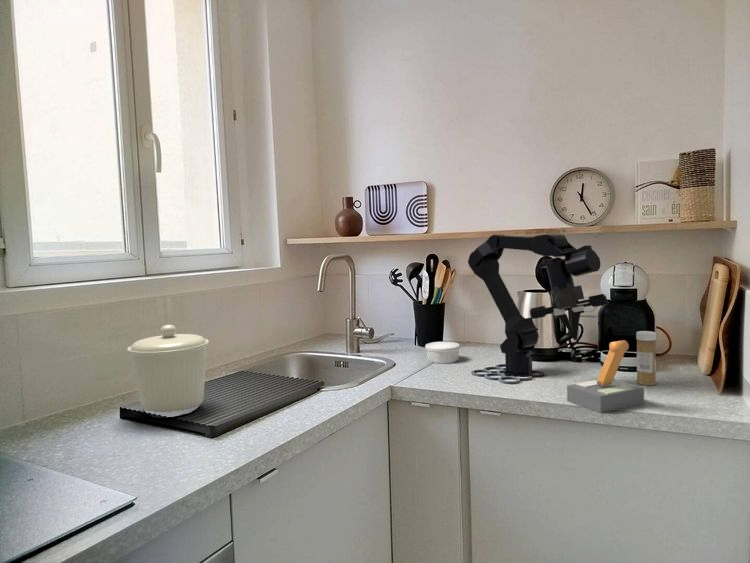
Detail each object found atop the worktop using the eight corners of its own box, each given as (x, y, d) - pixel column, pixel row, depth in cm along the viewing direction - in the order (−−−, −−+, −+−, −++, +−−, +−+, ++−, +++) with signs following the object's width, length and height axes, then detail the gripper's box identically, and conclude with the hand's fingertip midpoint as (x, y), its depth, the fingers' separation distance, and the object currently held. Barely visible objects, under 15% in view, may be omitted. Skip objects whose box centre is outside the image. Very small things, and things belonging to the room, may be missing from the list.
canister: (137, 431, 112) (131, 334, 110) (127, 410, 127) (121, 324, 126) (221, 414, 122) (216, 324, 120) (202, 396, 137) (197, 317, 135)
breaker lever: (594, 382, 120) (611, 339, 115) (604, 380, 122) (622, 338, 116) (601, 389, 118) (619, 345, 113) (612, 387, 120) (630, 344, 114)
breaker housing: (567, 400, 122) (567, 384, 122) (608, 393, 127) (608, 377, 127) (600, 413, 113) (600, 395, 113) (643, 404, 118) (643, 387, 117)
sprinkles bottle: (659, 383, 134) (659, 331, 133) (650, 386, 131) (650, 334, 130) (642, 380, 137) (642, 329, 136) (632, 383, 135) (632, 331, 134)
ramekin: (432, 366, 162) (432, 349, 161) (421, 358, 173) (420, 343, 172) (465, 363, 164) (465, 346, 164) (452, 355, 175) (452, 340, 175)
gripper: (522, 286, 131) (536, 348, 129) (600, 269, 124) (617, 334, 122) (526, 289, 141) (539, 346, 139) (599, 273, 135) (614, 332, 133)
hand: (575, 340), depth 133 cm, fingers closed
